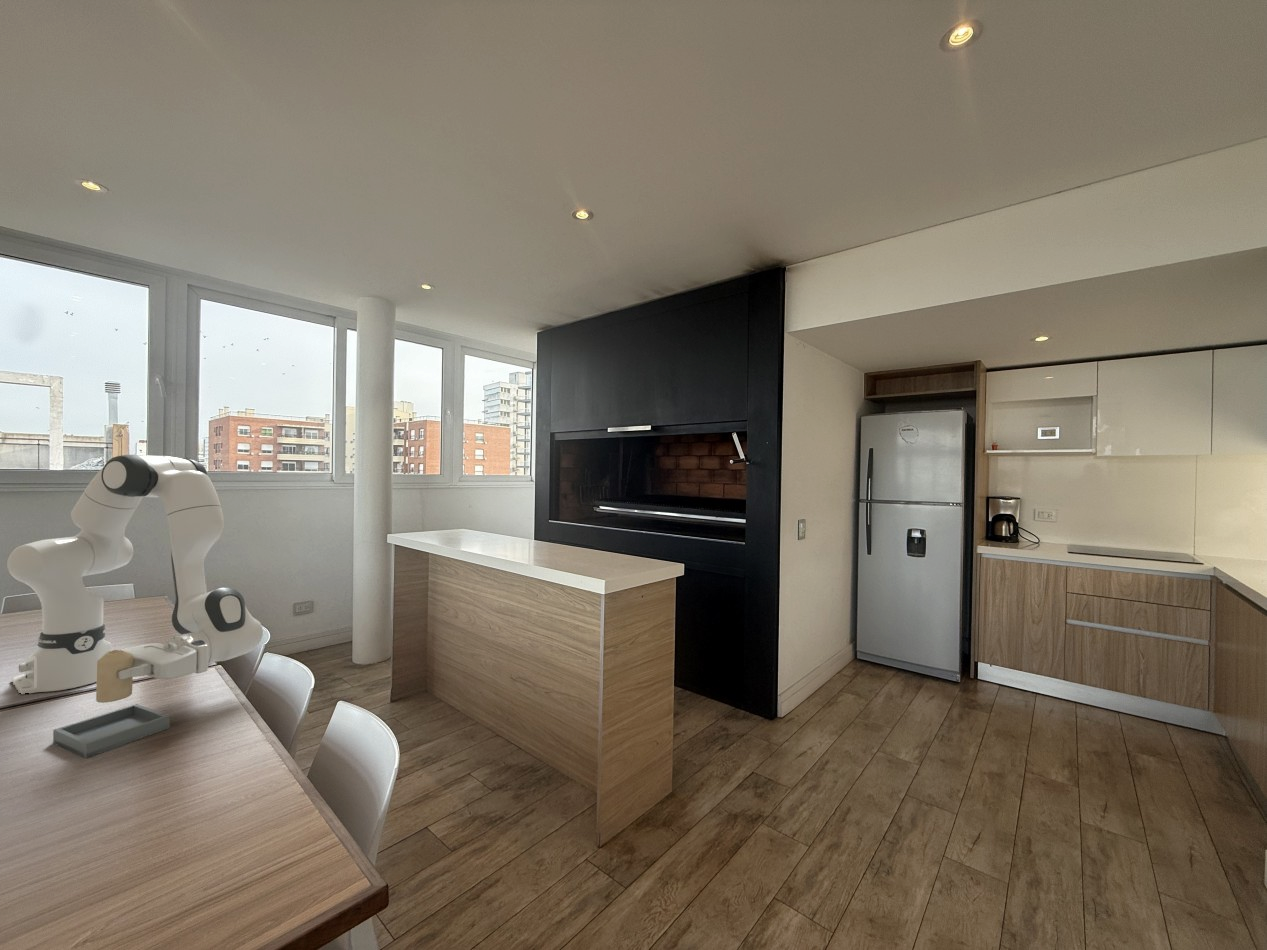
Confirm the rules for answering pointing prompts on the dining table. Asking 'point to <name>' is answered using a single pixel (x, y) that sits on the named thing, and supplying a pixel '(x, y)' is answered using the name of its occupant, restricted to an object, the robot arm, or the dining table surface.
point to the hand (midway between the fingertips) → (109, 672)
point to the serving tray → (110, 730)
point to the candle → (113, 676)
